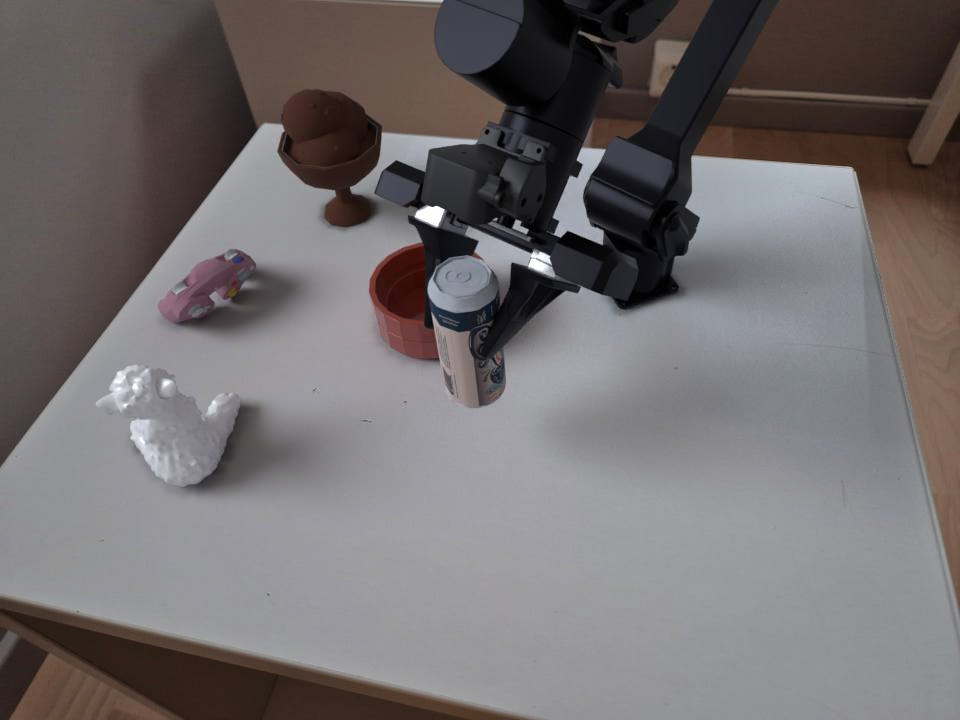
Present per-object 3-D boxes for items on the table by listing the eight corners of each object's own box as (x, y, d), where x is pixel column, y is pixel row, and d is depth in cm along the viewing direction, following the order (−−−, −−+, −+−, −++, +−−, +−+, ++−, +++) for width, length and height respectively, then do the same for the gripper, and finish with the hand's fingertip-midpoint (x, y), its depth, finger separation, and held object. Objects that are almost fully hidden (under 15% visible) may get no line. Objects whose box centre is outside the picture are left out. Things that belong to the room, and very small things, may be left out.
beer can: (500, 415, 57) (491, 304, 47) (439, 408, 57) (418, 298, 48) (510, 366, 60) (503, 253, 50) (452, 361, 60) (434, 248, 51)
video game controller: (185, 344, 75) (180, 314, 68) (154, 312, 75) (146, 280, 69) (262, 289, 79) (265, 257, 73) (233, 259, 80) (233, 224, 73)
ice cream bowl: (376, 248, 80) (349, 123, 69) (283, 234, 83) (242, 112, 71) (409, 189, 87) (390, 66, 75) (322, 178, 89) (290, 57, 78)
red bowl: (470, 267, 77) (466, 229, 74) (509, 340, 70) (508, 303, 67) (365, 297, 75) (356, 260, 72) (395, 376, 68) (387, 339, 65)
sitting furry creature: (243, 399, 68) (197, 305, 59) (256, 475, 62) (207, 385, 53) (136, 430, 66) (71, 339, 57) (139, 512, 61) (69, 425, 52)
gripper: (366, 49, 47) (285, 281, 50) (631, 138, 39) (515, 408, 42) (456, 103, 56) (384, 295, 60) (682, 183, 48) (585, 400, 51)
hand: (456, 342), depth 53 cm, fingers closed on beer can, 5 cm apart
